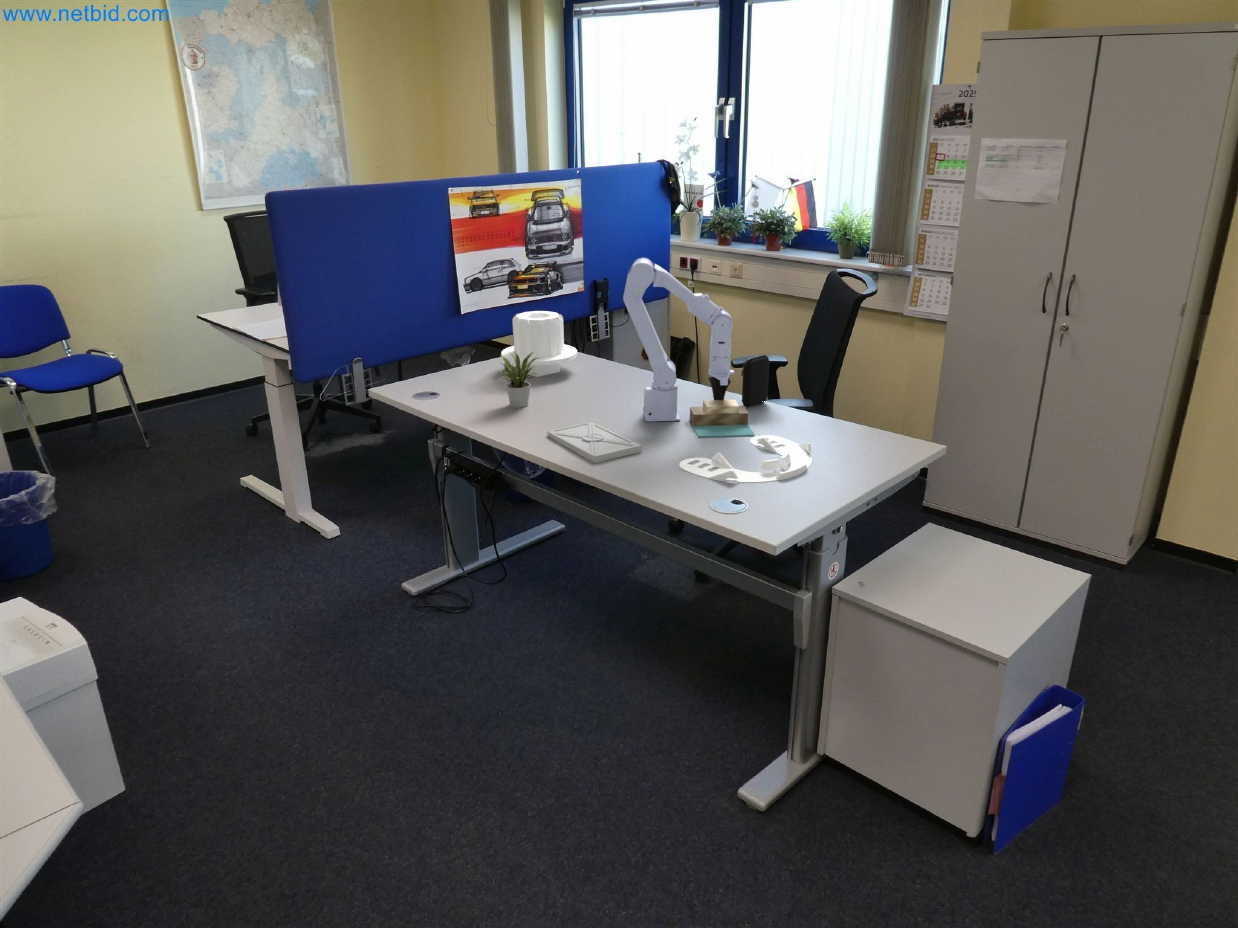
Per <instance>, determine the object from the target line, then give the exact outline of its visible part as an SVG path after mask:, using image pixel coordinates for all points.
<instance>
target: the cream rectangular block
mask: <svg viewBox="0 0 1238 928" xmlns="http://www.w3.org/2000/svg"><path fill="white" fill-rule="evenodd" d="M702 401H703V402H702V406H703V408H704V410H705V412H706V414H723V413H739V406H740V405H739V403H738V401H737V400H736V399H724V400H714V399H703V400H702Z"/></svg>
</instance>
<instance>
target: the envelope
mask: <svg viewBox="0 0 1238 928" xmlns="http://www.w3.org/2000/svg"><path fill="white" fill-rule="evenodd" d="M546 433H547V437H549V438H551V439H553V441H555V442H558V443H559V444H561V445H563V446H565V447H566V448H568V449H570V451H571V450H572V451H573V452H575V451H576V452H577V454H578V453H579V454H578V455H580V454H581V455H580V456H582V457H583V456H584V457H583V458H585V457H586V458H585V459H587V460H589V461H590V462H592V463H594V464H597V463H600V462H605V461H609V460H614V459H617V457H618V458H621V457H625V456H629V455H634V454H637V453H641V452H642V445H641V444H640V443H637V442H636V441H633V440H630V439H629V438H627V437H624V436H622V435H621V434H618V433H616V432H613V431H612V430H610V429H608V428H605V427H603V426H601V425H599V424H598V423H594V422H592V421H589V422H584V423H579V424H574V425H570V426H565V427H561V428H555V429H551V430H547V432H546ZM576 452H575V453H576Z"/></svg>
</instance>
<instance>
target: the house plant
mask: <svg viewBox="0 0 1238 928" xmlns="http://www.w3.org/2000/svg"><path fill="white" fill-rule="evenodd" d="M508 352H509V351H508ZM509 353H510V352H509ZM533 353H535V352H532V353H530V354H529V355H528V356H527V357H526V358H525V359H524V360H523V363H522V368H520V359H519V356H518V355H517V353H516V352H514V354H515V357H516V359H515V357H514V356H513V355H512V354H511V353H510V354H511V355H512V356H513V358H514V360H515V363H516V364H515V363H514V364H515V367H514V364H512V363H510V362H509V361H508V360H507V359H506V358H504V357H503V356H501V355H499V356H500V357H501V359H502V358H503V359H504V360H503V359H502V360H503V361H504V364H503V363H502V362H500V363H501V365H502V366H503V367H504V370H503V371H502V372H501V371H500V372H499V371H498V373H499V374H501V375H503V376H505V377H507V378H505V377H500V378H499V380H506V381H507V382H508V383H506V384H505V387H506V392H507V396H508V399H509V405H510V407H512V408H515V409H516V408H517V409H518V408H526V407H528V406H529V399H530V390H531V383H530V382H528V381H526V380H529V379H534V380H536V379H535V378H536V377H534V376H532V375H537V374H536V373H532V374H528V373H529V371H530V370H531V369H532V368H533V367H535V366H533V367H531V368H529V366H530V364H531V363H532V362H533V361H534V360H536V359H540V358H534V359H532V360H531V361H530V363H528V364H527V362H528V361H529V360H528V359H529V357H530V356H531V355H532V354H533ZM527 360H528V361H527ZM526 367H527V369H526ZM528 368H529V369H528ZM515 369H516V370H515ZM525 369H526V370H525ZM527 370H528V371H527ZM505 372H506V373H505ZM508 378H509V379H508Z"/></svg>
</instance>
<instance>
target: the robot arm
mask: <svg viewBox="0 0 1238 928" xmlns="http://www.w3.org/2000/svg"><path fill="white" fill-rule="evenodd" d="M650 285H652V287H654V288H655V287H656V288H657V287H658V288H664V289H666V290H667V291H669V292H670V293H671V294H673V295H675V296H676V297H677V298H678V299H680V300H682V301H683V302H684V303H685V304H686V305H687V311H688V312H689V313H691V314H692V315H693V316H694V317H696V318H697V319H699V320H700V321H701V322H702V323H704V324H705V325H709V326H710V328H711V331H710V332H711V335H710V336H711V337H710V343H709V369H708V375H709V377H708V379H707V380H708V381H709V383H710V387H711V390H712V397H713V400H725V395H726V392H727V389H728V388H729V386H730V384H731V379H730V376H731V375H735V370H733V369H731V361H732V360H731V359H732V358H731V357H732V338H731V337H732V331H733V329H734V327H735V326H734V324H733V323H734V322H733V319H732V317H731V315H730V313H729V312H728V311H727V310H726V309H724V308H723V307H722V306H721V305H720V306H718V305H717V304H716V303H715V302H713V301H712V300H711V299H710V296H709V295H708V294H707V293H705V294H703V293H701V292H698V293H694V292H692V291H691V289H689V288H688V287H687V286H685V285H684V284H683V283H681V281H679V280H678V279H677V278H676V277H675V276H674V275H672V274H671V273H670V272H668V271H667V270H666V269H664V268H663V267H661V266H660V265H659V264H656V263H654V262H653V261H651V260H650V259H649V258H647V257H640V258H637V259H635V260H634V262H633V263H632V265H631V267H629V270H628V273H627V276H626V283H625V287H624V290H623V291H624V292H623V296H622V297H623V298H622V299H623V303H624V304H625V307H626V309H627V312H628V314H629V316H630V319H631V321H632V323H633V325H634V328H635V330H636V333H637V335H638V337H639V339H640V342H641V344H642V347H643V348H644V352H645V354H646V355H647V357H648V360H649V364H650V366H651V367H650V368H651V370H652V372H653V373H652V374H653V378H652V379H653V382H652V383H651V386H645V387H644V388H643V408H642V409H643V410H642V411H643V415H644V419H645V422H673V421H674V422H677V421H680V420H681V419H680V415H679V412H678V388H679V387H678V383H677V374H676V372H677V367H676V364H675V363H674V361H672V360H671V359H669V356H668V354H667V353H666V351H665V349H664V348H663V345H662V342H661V341H660V338H659V335H658V334H657V331H656V329H655V327H654V324H653V321H652V319H651V317H650V315H649V313H648V310H647V308H646V305H645V303H644V301H643V296H644V294H645V293H646V290H647V289H648V287H649V286H650Z"/></svg>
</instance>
